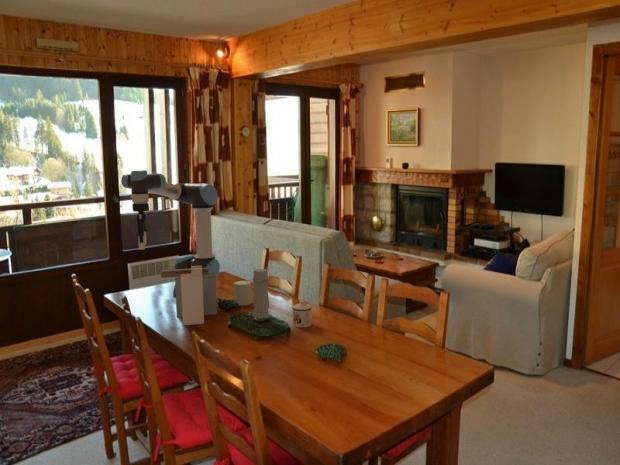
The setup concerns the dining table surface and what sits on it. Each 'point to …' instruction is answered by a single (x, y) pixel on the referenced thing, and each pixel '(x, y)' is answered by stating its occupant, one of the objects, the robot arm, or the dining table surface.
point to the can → (242, 292)
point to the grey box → (208, 294)
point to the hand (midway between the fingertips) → (142, 247)
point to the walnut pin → (179, 272)
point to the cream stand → (192, 296)
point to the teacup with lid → (302, 315)
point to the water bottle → (260, 293)
